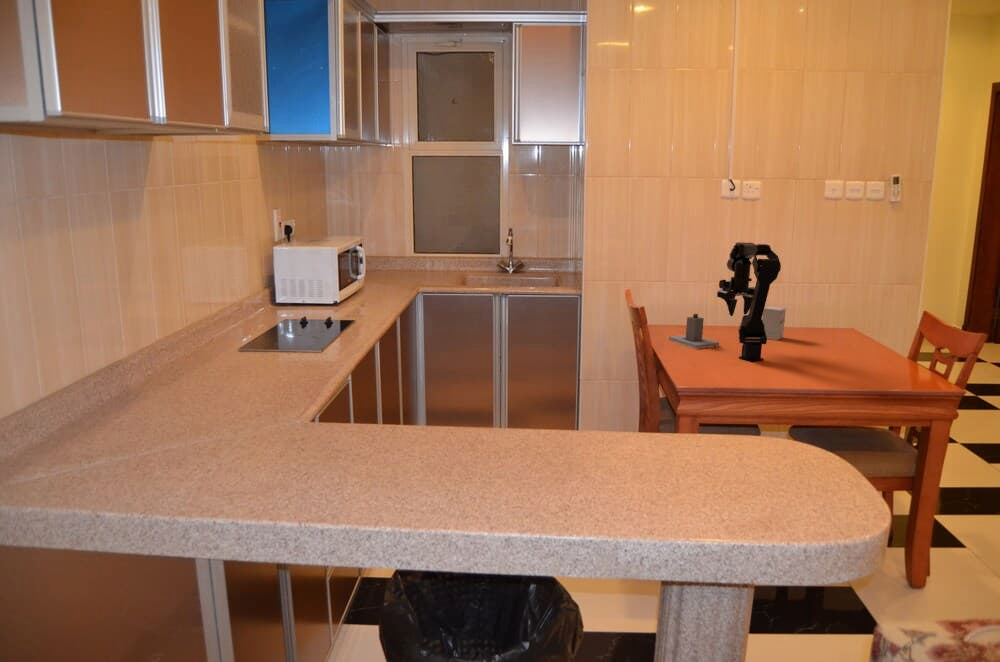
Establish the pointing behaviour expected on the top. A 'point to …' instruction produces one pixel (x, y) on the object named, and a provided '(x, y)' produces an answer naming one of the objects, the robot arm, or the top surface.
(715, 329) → the top surface
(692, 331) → the plug
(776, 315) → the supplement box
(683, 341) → the socket
